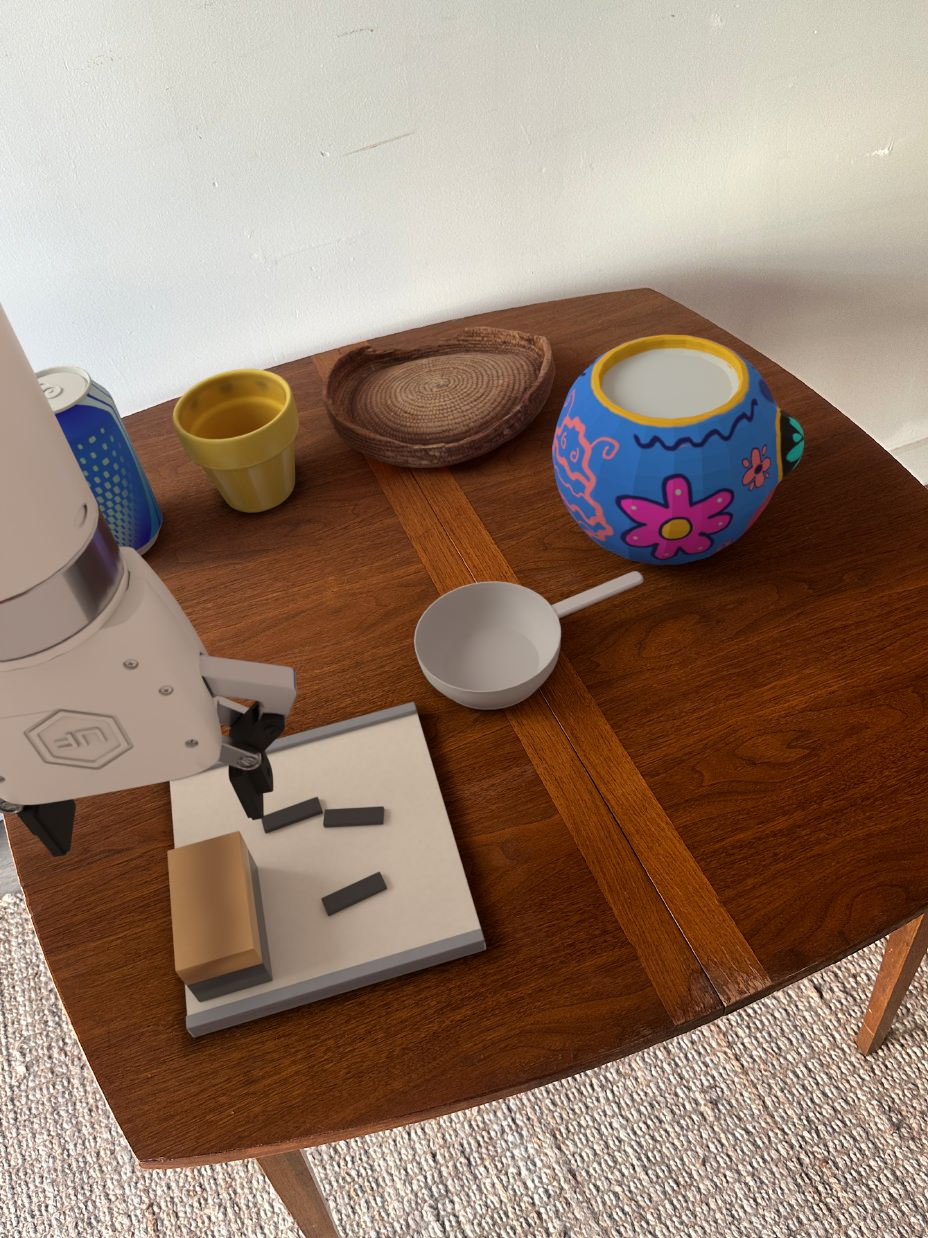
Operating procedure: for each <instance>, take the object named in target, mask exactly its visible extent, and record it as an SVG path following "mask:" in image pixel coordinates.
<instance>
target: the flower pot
mask: <svg viewBox="0 0 928 1238" xmlns="http://www.w3.org/2000/svg"><path fill="white" fill-rule="evenodd" d="M294 396H295V395H294V392H293V390H292V388H291V386H290V384H289V383H288V381H287V380H285V378H283V377H282V376H280V375H279V374H277V373H275V372H272V371H269V370H266V369H265V370H264V369H259V368H238V369H233V370H226V371H223V372H220V373H217V374H214V375H212V376H209V377H207V378H204V379H203V380H201V381H199V382H198V383H196V384H194V385H193V386H191V387H190V388H189V389H187V390H186V391H185V392H184V393H183V394H182V395H181V396H180V398H179V399H178V401H177V402H176V403H175V405H174V409H173V411H172V423H173V427H174V430H175V432H176V434H177V437H178V439H179V442H180V444H181V446H182V448H183V451H184V452H185V454H186V455H187V457H188V458H189V459H190V460H191V461H192V462H194V463H195V464H196V465H198V466H200V467H201V468H202V469H203V470H204V472H205V473H206V475H207V476H208V478H209V479H210V480H211V482H212V483H213V484H214V485H213V486H215V488H216V489H217V490H218V492H219V493H220V495H221V496H222V498H223V499H224V501H225V502H226V504H227V505H229V507H230V508H233V509H234V510H235V511H239V512H242V513H252V514H253V513H261V512H266V511H269V510H271V509H274V508H275V507H278V506H279V505H281V504H282V503H283V502H284V501H286V500H287V499H288V498H289V497H290V496H291V494H293V491H294V489H295V485H296V457H295V454H296V453H295V452H296V451H295V449H296V448H295V439H296V437H297V435H298V432H299V429H300V418H299V413H298V407H297V404H296V400H295V397H294Z"/></svg>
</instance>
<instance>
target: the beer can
mask: <svg viewBox="0 0 928 1238" xmlns="http://www.w3.org/2000/svg"><path fill="white" fill-rule="evenodd" d="M34 373H35V375H36V377H37V379H38V381H39V383H40V385H41V387H42V390H43V392H44V394H45V396H46V398H47V400H48V402H49V404H50V406H51V408H52V410H53V412H54V414H55V416H56V418H57V420H58V423H59V425H60V427H61V429H62V431H63V433H64V435H65V437H66V439H67V442H68V444H69V446H70V448H71V450H72V452H73V454H74V456H75V458H76V460H77V462H78V465H79V467H80V469H81V471H82V473H83V475H84V477H85V479H86V481H87V483H88V486H89V488H90V490H91V492H92V493H93V495H94V497H95V499H96V501H97V503H98V505H99V507H100V509H101V511H102V514H103V516H104V518H105V520H106V522H107V524H108V526H109V528H110V530H111V532H112V534H113V536H114V538H115V540H116V542H117V544H118V547H131V548H133V549H134V550H135V551H136V552H137V553H138V554H139V555H140V556H141V557H142V556H143V555H144V554H145V553H146V552H148V551H149V550H150V549H151V547H152V548H153V546H154V544H155V543H156V541H157V539H158V537H159V532H160V530H161V528H162V524H163V512H162V509H161V507H160V504H159V503H158V500H157V498H156V496H155V493H154V491H153V488H152V486H151V484H150V482H149V480H148V477H147V474H146V472H145V470H144V468H143V466H142V463H141V460H140V459H139V457H138V454H137V452H136V450H135V447H134V444H133V443H132V440H131V437H130V435H129V433H128V430H127V429H126V426H125V424H124V421H123V419H122V416H121V414H120V412H119V409H118V408H117V405H116V403H115V400H114V398H113V396H112V395H111V393H110V392H109V390H107V389H106V387H104V386H103V385H101V384H100V383H98V382H96V381H95V380H94V379H92V377H91V375H90V374H89V372H87V371H86V370H85V369H83V368H81V367H78V366H74V365H59V366H58V365H57V366H51V367H48V368H44V369H40V370H38V371H36V372H35V371H34Z"/></svg>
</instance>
